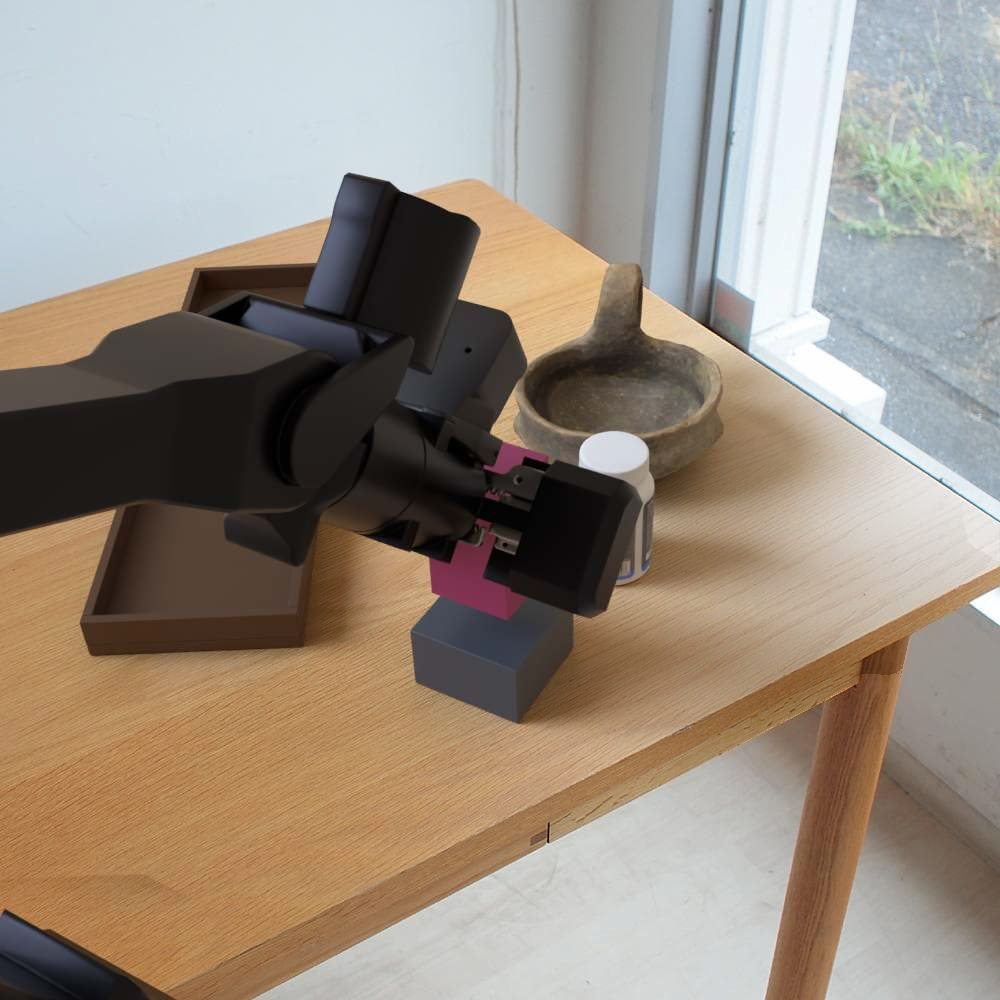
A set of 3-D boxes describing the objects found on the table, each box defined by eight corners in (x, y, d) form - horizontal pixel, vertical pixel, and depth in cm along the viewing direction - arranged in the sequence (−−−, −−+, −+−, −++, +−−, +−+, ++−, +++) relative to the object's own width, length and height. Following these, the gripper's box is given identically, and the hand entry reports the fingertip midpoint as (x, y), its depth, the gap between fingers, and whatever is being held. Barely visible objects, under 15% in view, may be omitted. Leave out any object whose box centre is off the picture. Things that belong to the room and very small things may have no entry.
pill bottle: (613, 526, 83) (616, 416, 78) (667, 563, 80) (673, 451, 75) (556, 559, 81) (555, 448, 75) (610, 599, 78) (612, 486, 72)
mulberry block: (507, 621, 67) (503, 506, 63) (431, 593, 69) (421, 479, 65) (550, 568, 71) (548, 455, 66) (475, 542, 72) (469, 430, 68)
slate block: (518, 724, 70) (516, 671, 68) (415, 682, 73) (409, 630, 70) (573, 647, 75) (573, 595, 72) (474, 611, 77) (471, 559, 75)
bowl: (501, 515, 84) (496, 384, 78) (533, 367, 98) (531, 245, 91) (720, 528, 82) (732, 395, 76) (721, 375, 96) (731, 252, 90)
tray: (302, 647, 75) (297, 613, 74) (89, 655, 75) (78, 622, 74) (349, 289, 108) (345, 261, 106) (199, 295, 108) (194, 267, 106)
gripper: (631, 333, 51) (719, 422, 65) (250, 235, 59) (403, 333, 73) (537, 605, 51) (647, 635, 65) (165, 471, 58) (336, 524, 73)
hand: (502, 520), depth 69 cm, fingers closed on mulberry block, 4 cm apart
